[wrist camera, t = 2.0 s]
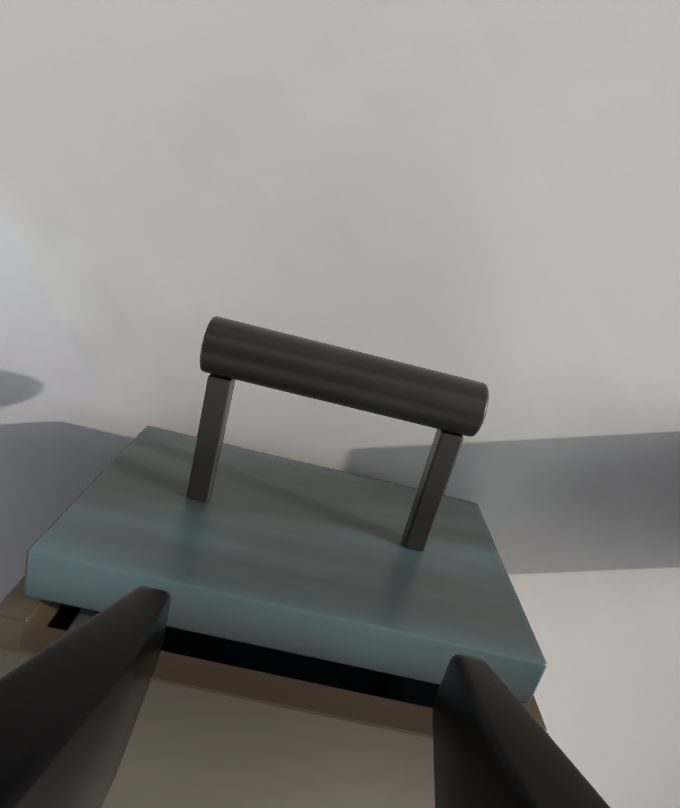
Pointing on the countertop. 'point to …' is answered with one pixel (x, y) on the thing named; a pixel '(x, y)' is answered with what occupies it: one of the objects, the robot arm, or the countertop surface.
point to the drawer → (300, 536)
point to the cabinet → (249, 732)
